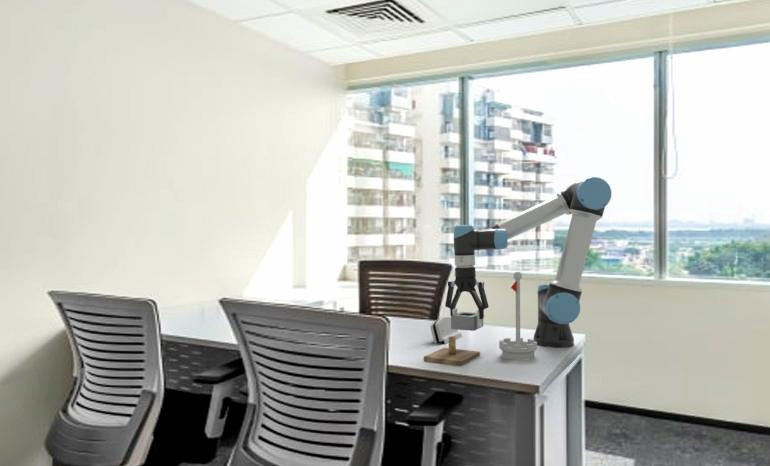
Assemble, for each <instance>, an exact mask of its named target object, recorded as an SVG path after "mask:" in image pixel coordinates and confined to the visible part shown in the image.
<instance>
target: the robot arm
mask: <svg viewBox="0 0 770 466" xmlns="http://www.w3.org/2000/svg"><path fill="white" fill-rule="evenodd" d="M611 199H612V188H611V186H610V185H609V183H608V182H607V181H606V180H605V179H603V178H601V177H599V176H587V177H585V178H581V179H579V180H576V181H575V182H573V183H572V184H571V185H569V186H568V187H566V188H564V189H561V190H560V191H558V192H557V193H556V195H555V196H554V197H551V198H549V199H546V200H545V201H543V202H541V203H539V204H536V205H534V206H532V207H530V208H527V209H526V210H524V211H521V212H519V213H517V214H514V215H512V216H511V217H508V218H506V219H504V220H501V221H500V222H498V223H496V224H494V225H491V226H489V227H486V228H484V229H475V227H474V225H473V224H460V225H459V224H458V225H457V224H456V225H455V226H454V227H453V250H454V251H453V253H454V266H455V268H454V276H455V277H454V278H455V280H449V281H447V287H448V288H447V294H446V300H445V305H444V306H445V308H448V309H449V310H450V312H449V313H450V316H451V315H454V314H457V313H458V308H457V307H456V306H457V304H458V301H459V299H460V297H461V295H462V293H464V292H467V293H469V294H470V295H471V297H472V299H473V301H474V304H475V305H476V307H477V310H476V313H477V328H478V329H482V328H483V327H482V319H483V320H484V318H485V313H484V310H486V309H488V308H489V303H488V299H487V295H486V290H485V282H484V281H482V280H481V281H478V280H477V279H476V273H477V272H476V267H475V266H476V255H475V254H476V253H475V251H486V250H487V251H488V250H506V249H507V248H508V240H511V239H512V238H515V237H518V236H519V235H521V234H524V233H526V232H528V231H530V230H532V229H535V228H537V227H539V226H541V225H544V224H546V223H548V222H550V221H552V220H555V219H556V218H558V217H560V216H563V215H567V216H570V215H571V218H570V219H571V220H570V223H569V227H568V230H567V234H566V237H565V241H564V245H563V248H562V253H561V257H560V260H559V263H558V268H557V271H556V275H555V278H554V279H553V280H551V281H550V282H549V283H547V284H546V283H545V284H539V285H538V287H537V291H536V293H537V325H536V327H535V331H534V334H533V338H532V340H534V342H537V346H541V347H546V348H547V347H549V348H568V347H571V346H574V344H575V338H574V335H573V331H572V328H571V326H570V324H571V323H573V322H575V320H577V318H578V317H579V315H580V313H581V304H580V300H581V298H582V293H583V290H582V288H581V286H580V284H581V279H582V275H583V272H584V269H585V264H586V260H587V257H588V253H589V249H590V246H591V243H592V240H593V236H594V231H595V228H596V225H597V222H598V221H599V220H600V219H602V218H603V216H604V212H605V208H606V207H607V206H608V204H609V202H610V201H611ZM455 286H456V287H457V288H456V290H455V294H454V288H455ZM476 286H477V288H478V293H479V295H478V293H477V290H476V288H475V287H476ZM453 294H454V295H453ZM453 296H454V297H453ZM478 329H477V330H478Z"/></svg>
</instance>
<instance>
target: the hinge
mask: <svg viewBox="0 0 770 466" xmlns="http://www.w3.org/2000/svg"><path fill="white" fill-rule="evenodd" d="M430 330H431V331H430V332H431V334H432V335H431V336H432V339H433V343H434V344H437V343H439V342H444V343H443V344H444V345H446V344H449V337H450V336H454V337H456V340H458V339H461V338H462V337H463V333H462V332H460V330H455V329H451V316H446V317H441V318H438V319H436V320H434V321H433V322H432V323H431V325H430Z"/></svg>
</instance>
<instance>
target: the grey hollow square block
mask: <svg viewBox="0 0 770 466" xmlns="http://www.w3.org/2000/svg"><path fill="white" fill-rule="evenodd" d="M450 318H451V329H455V330H458V331H471V332H474V331H476V330H478V328H477V312H472V311H471V312H470V311H468V312H467V311H466V312H465V311H460V312H457V314H454V315H451V314H450ZM483 327H484V318H483V319H482V327H481V328H483Z"/></svg>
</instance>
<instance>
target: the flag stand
mask: <svg viewBox="0 0 770 466" xmlns="http://www.w3.org/2000/svg"><path fill="white" fill-rule="evenodd" d="M522 277H523V275H522V273H521V272H520V271H515V272H514V273H513V279H514V280H515V281H514V282H513V284H512V285H511V287H510V288H511V289H512V290H513V291H514V292H515V340H511V338H510V337H507V338H506V337H504V338H503V339H500V340H499V342H498V344H499V345H498V346H499V348H498V349H500V351H501V353H502V354H501V355H502V356H501V357H503V358H504V359H508V360H514V361H528V360H533V359H535V352H536V351H537V350H538V345H537V342H534V340H533V338H532V339H531V338H527V341H524V338H523V337H521V280H522Z"/></svg>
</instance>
